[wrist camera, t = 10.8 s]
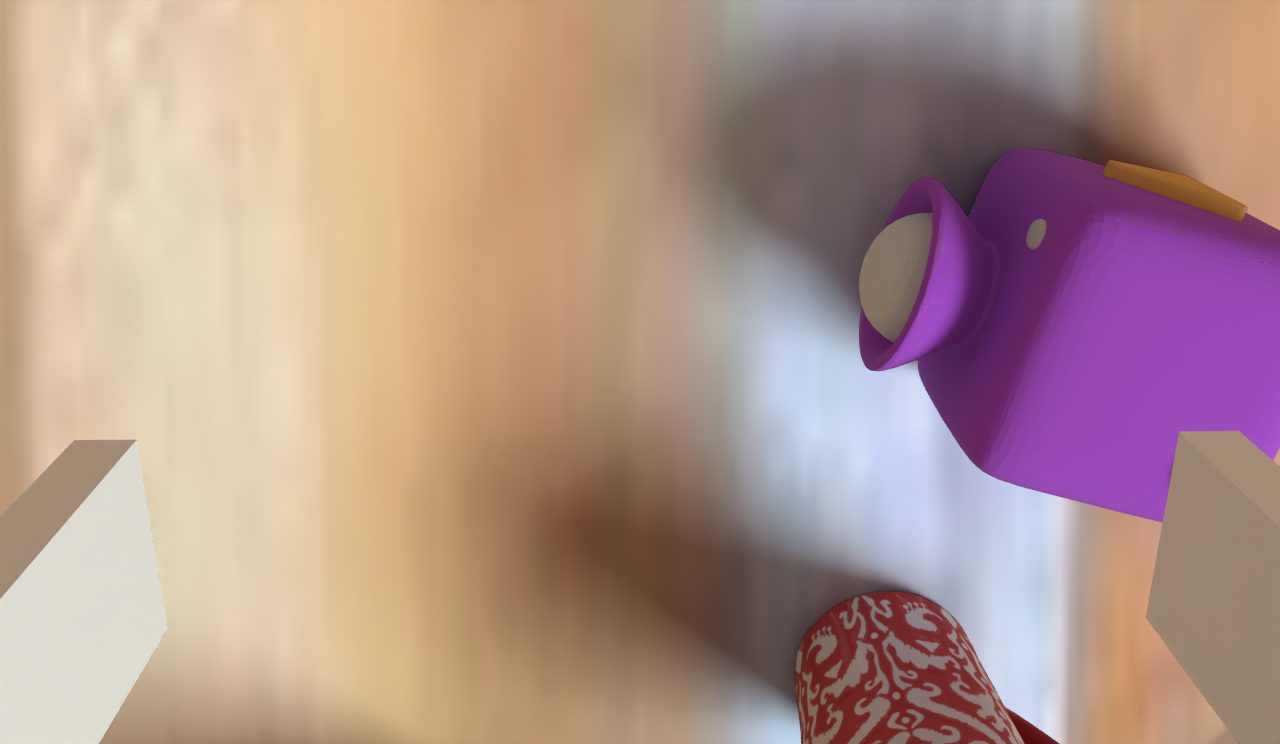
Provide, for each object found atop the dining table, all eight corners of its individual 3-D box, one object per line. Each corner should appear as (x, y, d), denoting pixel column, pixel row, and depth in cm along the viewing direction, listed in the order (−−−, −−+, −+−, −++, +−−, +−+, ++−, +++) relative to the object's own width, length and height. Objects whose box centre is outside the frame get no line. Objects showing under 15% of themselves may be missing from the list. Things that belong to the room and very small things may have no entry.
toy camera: (854, 115, 42) (921, 180, 33) (1242, 146, 43) (1415, 219, 33) (812, 403, 46) (861, 534, 37) (1168, 428, 47) (1304, 563, 37)
